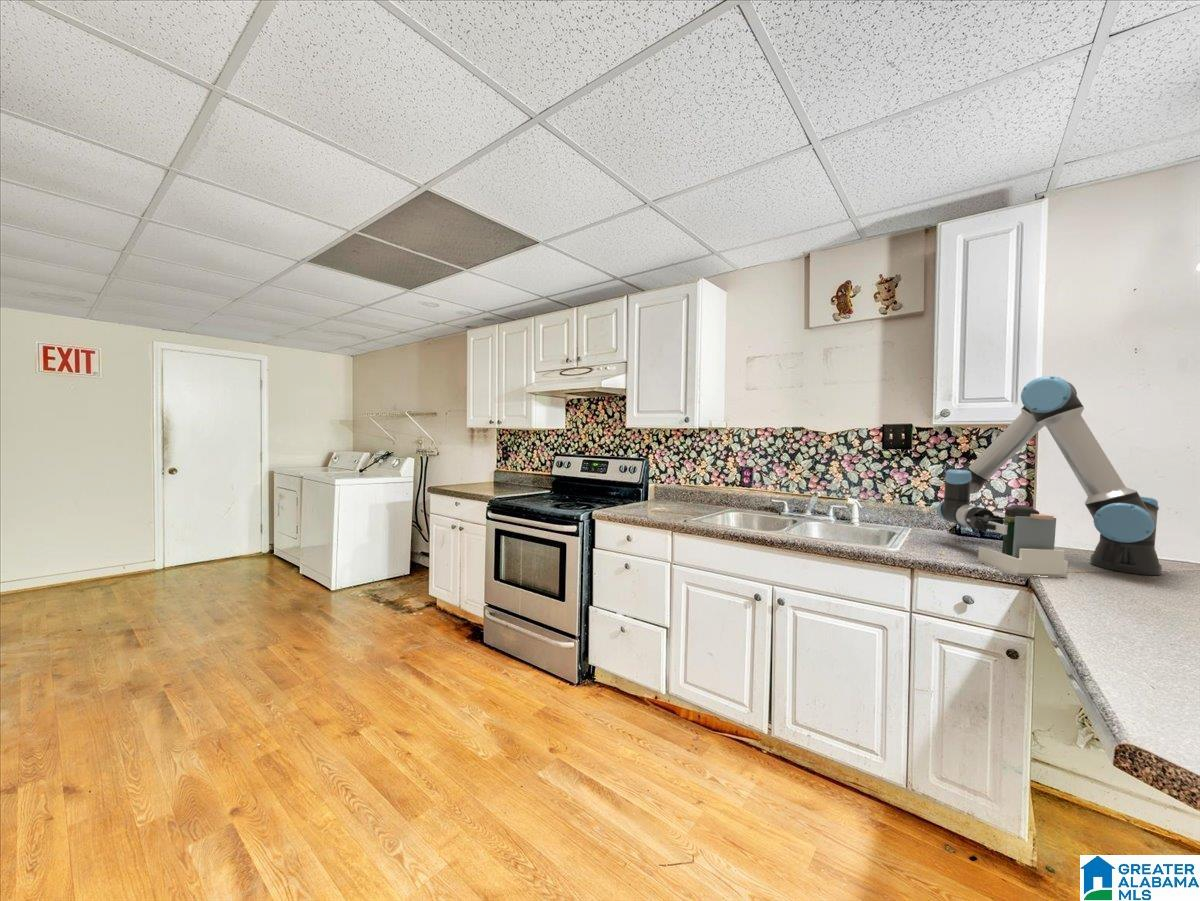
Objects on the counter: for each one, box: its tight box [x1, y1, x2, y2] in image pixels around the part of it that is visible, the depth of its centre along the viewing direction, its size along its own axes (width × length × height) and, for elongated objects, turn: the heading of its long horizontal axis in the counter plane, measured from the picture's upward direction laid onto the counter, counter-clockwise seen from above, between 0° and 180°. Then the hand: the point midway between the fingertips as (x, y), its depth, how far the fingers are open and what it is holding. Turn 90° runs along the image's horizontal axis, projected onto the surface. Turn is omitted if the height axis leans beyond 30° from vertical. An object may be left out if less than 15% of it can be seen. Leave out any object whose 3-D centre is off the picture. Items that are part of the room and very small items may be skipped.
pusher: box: [1012, 513, 1057, 557], centre depth 139 cm, size 11×4×13 cm, turn 88°
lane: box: [977, 546, 1069, 579], centre depth 145 cm, size 14×15×8 cm
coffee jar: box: [1001, 504, 1040, 558], centre depth 146 cm, size 10×8×19 cm
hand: (1029, 530), depth 142 cm, fingers open, 13 cm apart
